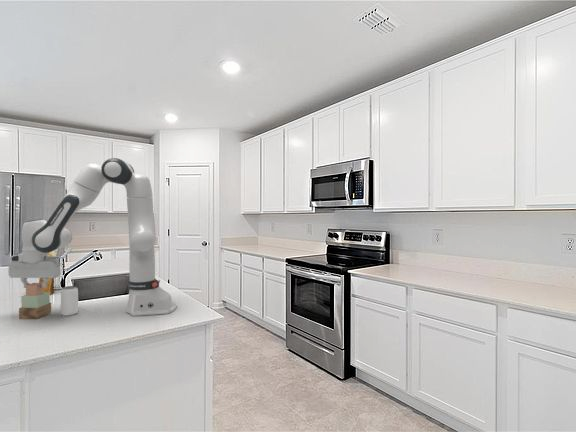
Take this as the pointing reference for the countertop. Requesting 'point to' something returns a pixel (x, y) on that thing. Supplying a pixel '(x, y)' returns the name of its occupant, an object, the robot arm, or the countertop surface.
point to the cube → (34, 289)
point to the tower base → (34, 312)
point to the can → (69, 300)
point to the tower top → (35, 300)
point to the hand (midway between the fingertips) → (35, 287)
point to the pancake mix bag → (51, 280)
